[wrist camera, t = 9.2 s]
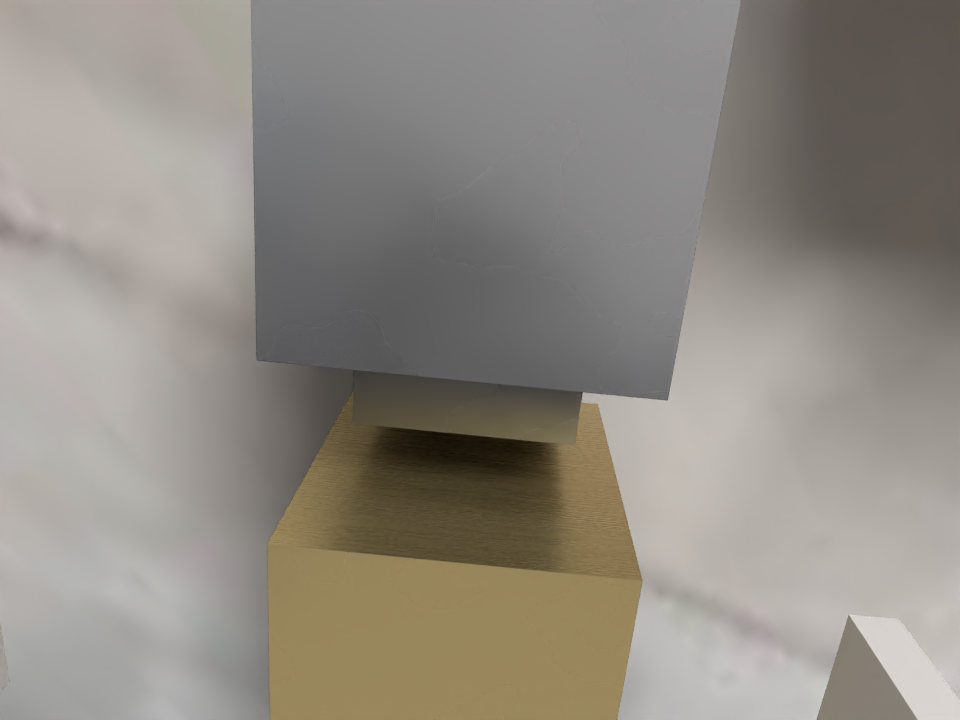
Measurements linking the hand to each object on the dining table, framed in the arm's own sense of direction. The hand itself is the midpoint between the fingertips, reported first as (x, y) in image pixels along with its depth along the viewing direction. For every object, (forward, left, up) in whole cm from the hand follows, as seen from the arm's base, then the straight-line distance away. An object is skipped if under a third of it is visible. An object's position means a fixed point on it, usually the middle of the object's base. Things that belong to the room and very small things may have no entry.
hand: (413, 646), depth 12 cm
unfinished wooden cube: (+1, 0, -5) cm, 5 cm away
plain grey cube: (0, +7, -5) cm, 9 cm away
